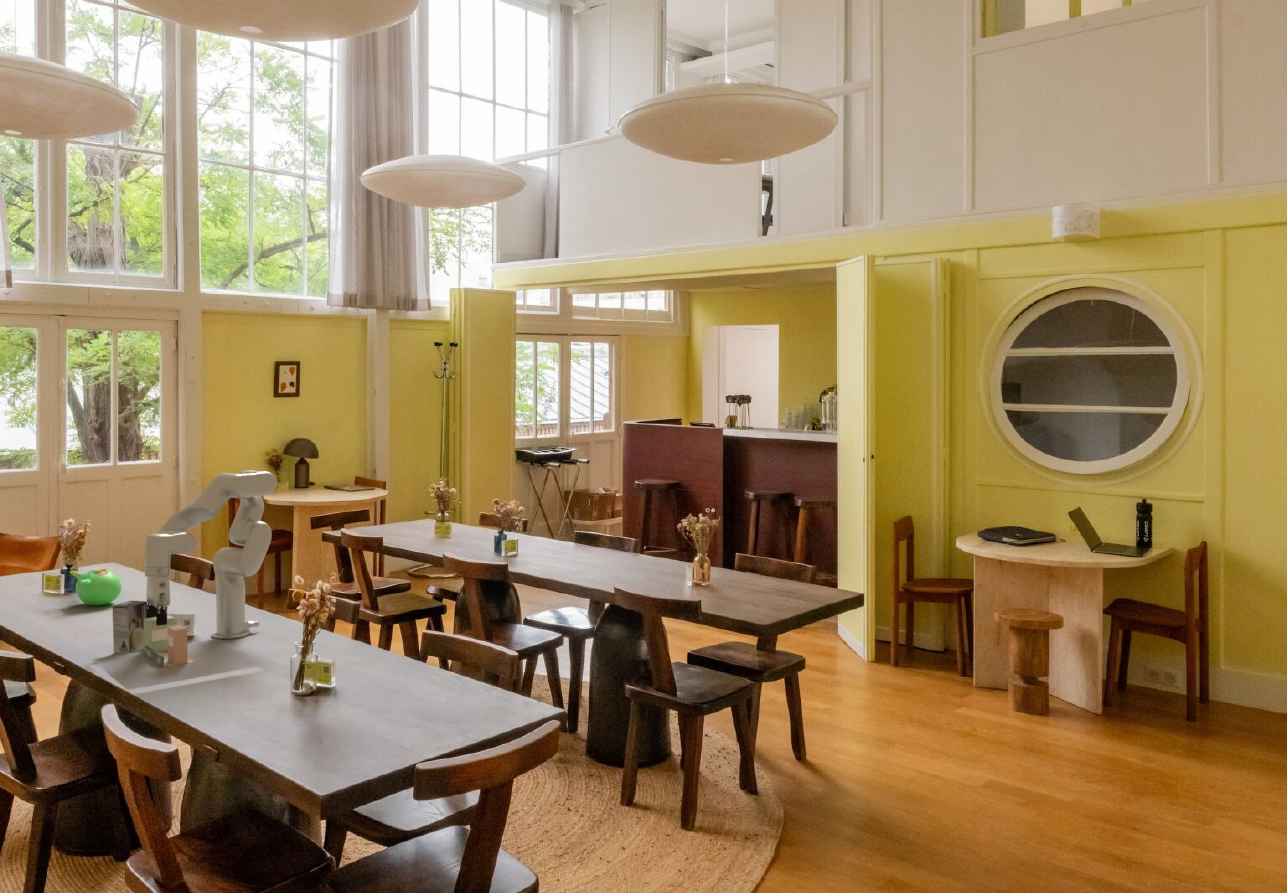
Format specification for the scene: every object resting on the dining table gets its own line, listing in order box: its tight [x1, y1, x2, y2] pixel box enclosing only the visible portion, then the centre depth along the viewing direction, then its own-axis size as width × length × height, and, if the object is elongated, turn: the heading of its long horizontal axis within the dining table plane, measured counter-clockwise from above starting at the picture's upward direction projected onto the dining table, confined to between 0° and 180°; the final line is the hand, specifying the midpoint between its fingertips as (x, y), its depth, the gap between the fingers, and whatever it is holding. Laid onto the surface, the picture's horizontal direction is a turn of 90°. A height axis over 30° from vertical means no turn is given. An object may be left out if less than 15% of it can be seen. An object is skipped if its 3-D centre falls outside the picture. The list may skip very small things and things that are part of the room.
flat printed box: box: [144, 645, 200, 668], centre depth 318 cm, size 11×18×4 cm, turn 42°
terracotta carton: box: [167, 624, 189, 666], centre depth 313 cm, size 4×6×11 cm
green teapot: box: [69, 567, 122, 606], centre depth 395 cm, size 18×17×15 cm
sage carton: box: [143, 614, 175, 653], centre depth 327 cm, size 8×5×12 cm, turn 132°
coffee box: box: [112, 600, 148, 655], centre depth 330 cm, size 9×6×16 cm
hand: (156, 622), depth 326 cm, fingers open, 9 cm apart
